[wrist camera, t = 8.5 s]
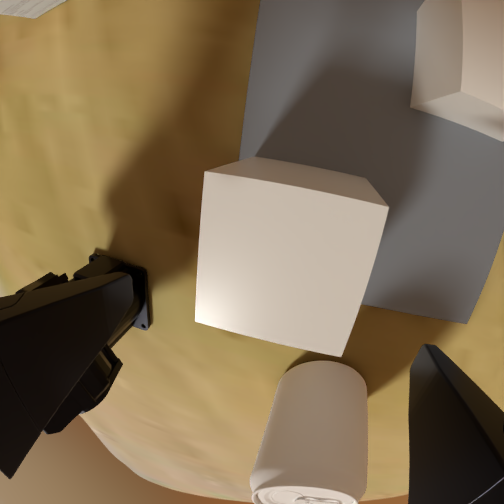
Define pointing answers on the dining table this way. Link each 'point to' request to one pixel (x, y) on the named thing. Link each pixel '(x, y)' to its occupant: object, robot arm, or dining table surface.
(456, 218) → the board
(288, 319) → the empty cover
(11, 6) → the supplement box
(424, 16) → the block
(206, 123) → the dining table surface
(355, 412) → the beverage can
